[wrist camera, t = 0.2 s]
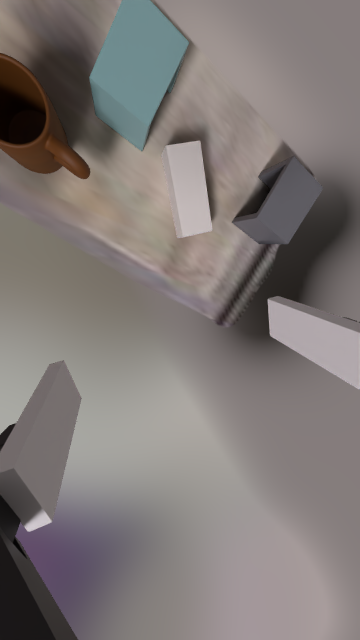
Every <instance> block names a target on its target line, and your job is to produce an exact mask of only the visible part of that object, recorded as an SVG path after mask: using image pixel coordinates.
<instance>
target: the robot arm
mask: <svg viewBox="0 0 360 640" xmlns="http://www.w3.org/2000/svg"><path fill="white" fill-rule="evenodd" d="M268 310H269V327H270V336H272V337H273V338H275V339H276V340H278V341H280V342H281V343H283V344H285V345H286V346H288V347H290V348H291V349H293V350H295V351H296V352H298V353H300V354H301V355H303V356H305V357H306V358H308V359H310V360H311V361H313V362H314V363H316V364H318V365H320V366H321V367H323V368H324V369H326V370H328V371H329V372H331V373H333V374H334V375H336V376H338V377H339V378H341V379H343V380H344V381H346V382H348V383H349V384H351V385H353V386H354V387H356V388H358V389H359V390H360V322H357V321H355V320H352V319H349V318H345V317H340V316H337V315H334V314H331V313H328V312H325V311H322V310H319V309H316V308H313V307H309V306H307V305H304V304H301V303H298V302H295V301H291V300H288V299H285V298H282V297H279V296H277V297H273V298H270V299H268ZM80 402H81V396H80V394H79V392H78V390H77V388H76V386H75V383H74V381H73V379H72V377H71V375H70V373H69V370H68V369H67V366H66V364H65V362H64V360H63V361H59V362H56V363H53V364H50V365H49V366H48V368H47V370H46V372H45V373H44V375H43V377H42V379H41V380H40V382H39V384H38V386H37V388H36V389H35V391H34V393H33V395H32V397H31V398H30V400H29V402H28V404H27V405H26V407H25V409H24V411H23V412H22V414H21V416H20V418H19V419H18V421H17V423H16V424H12V425H10V426H8V427H7V429H5V430H4V431H3V432H2V433H1V435H0V640H78V639H77V637H76V636H75V634H74V632H73V631H72V629H71V627H70V626H69V624H68V622H67V621H66V619H65V617H64V615H63V614H62V612H61V610H60V609H59V607H58V606H57V604H56V602H55V600H54V599H53V597H52V595H51V594H50V592H49V590H48V588H47V587H46V585H45V584H44V582H43V580H42V578H41V577H40V575H39V573H38V572H37V570H36V568H35V567H34V565H33V563H32V562H31V560H30V558H29V557H28V555H27V553H26V551H25V550H24V548H23V546H22V545H21V543H20V541H19V540H18V539H17V538H16V537H15V535H16V532H17V530H18V527H19V524H20V522H21V523H22V525H23V526H24V527H25V528H26V529H27V531H28V532H29V531H32V530H34V529H36V528H39V527H41V526H44V525H46V524H49V523H51V522H52V521H53V517H54V512H55V509H56V504H57V500H58V496H59V491H60V487H61V483H62V479H63V474H64V470H65V466H66V462H67V458H68V453H69V449H70V445H71V441H72V436H73V432H74V427H75V424H76V419H77V415H78V410H79V406H80Z"/></svg>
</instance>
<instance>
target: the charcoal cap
mask: <svg viewBox="0 0 360 640" xmlns="http://www.w3.org/2000/svg"><path fill="white" fill-rule="evenodd" d="M259 178H260V179H261V180H262V181H263V182H264V183H265V184H266V185H267V186H268V187H269V188H270V189H271V190H270V192H269V194H268V195H267V197H266V199H265V200H264V202H263V204H262V205H261V207H260V209H259V211H258V212H257V213H255V214H250V215H246V216H241V217H236V218H234V220H233V221H232V223H233V224H234V225H236V226H237V227H238V228H239V229H241V230H242V231H243V232H245V233H246V234H247V235H248V236H250V237H251V238H252V239H254V240H255V241H256V242H257V243H259V244H288V243H289V241H290V240H291V238H292V236H293V235H294V233H295V232H296V230H297V229H298V227H299V225H300V224H301V222H302V221H303V219H304V218H305V216H306V214H307V213H308V211H309V210H310V208H311V206H312V205H313V203H314V202H315V200H316V198H317V197H318V195H319V194H320V192H321V190H322V189H323V187H322V186H321V185H320V184H319V183H318V182H317V181H316V180H315V178H314V177H313V176H312V175H311V174H310V173H309V172H308V171H307V170H306V169H305V168H304V167H303V165H302V164H301V163H300V162H299V161H298V160H297V159H296V158H295V157H294V156H293V157H291V158H289V159H287V160H285V161H283V162H281V163H279V164H277V165H275V166H273V167H271V168H269V169H266V170H264V171H262V172H261V173H260V175H259Z"/></svg>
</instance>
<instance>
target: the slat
mask: <svg viewBox="0 0 360 640" xmlns="http://www.w3.org/2000/svg"><path fill="white" fill-rule="evenodd" d="M161 157H162V162H163V167H164V172H165V177H166V183H167V188H168V193H169V198H170V203H171V209H172V214H173V219H174V224H175V229H176V234H177V238H182V237H187V236H191V235H196V234H200V233H205V232H209V231H212V224H211V217H210V209H209V202H208V195H207V187H206V180H205V172H204V165H203V158H202V150H201V143H200V141H193V142H187V143H180V144H173V145H166V147H165V149H164V151H163V153H162V155H161Z"/></svg>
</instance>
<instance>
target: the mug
mask: <svg viewBox="0 0 360 640" xmlns="http://www.w3.org/2000/svg"><path fill="white" fill-rule="evenodd" d="M0 149H2V150H3V151H4V152H5V153H7V154H8V155H9V156H10V157H12V158H13V159H14V160H16V161H17V162H18V163H19V164H21V165H22V166H24V167H25V168H27V169H29V170H31V171H34V172H37V173H43V174H47V173H52V172H55V171H57V170H58V169H60V168H61V167H62V166H64V167H65V168H66V169H68V170H69V171H70V172H71V173H73V174H74V175H76V176H77V177H79V178H81V179H87V178H88V177H89V175H90V168H89V166H88V165H87V163H86V162H85V161H84V160H83V159H82V158H81V157H80V156H79V155H78V154H77V153H76V152H75V151H74V150H73V149H72V148H70V147H69V146H68V141H67V137H66V134H65V131H64V129H63V127H62V125H61V122H60V120H59V118H58V116H57V113H56V111H55V109H54V107H53V105H52V103H51V101H50V99H49V97H48V95H47V94H46V92H45V91H44V89H43V87H42V86H41V84H40V83H39V81H38V80H37V78H36V77H35V76H34V75H33V73H32V72H31V71H30V70H29V69H28V68H27V67H25V66H24V65H23V64H22V63H20V62H19V61H17V60H16V59H14V58H12V57H10V56H8V55H5V54H2V53H0Z"/></svg>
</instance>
